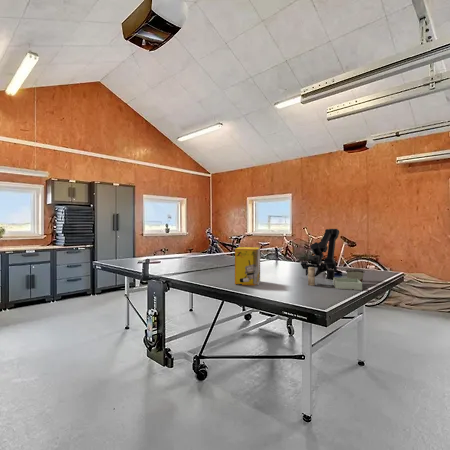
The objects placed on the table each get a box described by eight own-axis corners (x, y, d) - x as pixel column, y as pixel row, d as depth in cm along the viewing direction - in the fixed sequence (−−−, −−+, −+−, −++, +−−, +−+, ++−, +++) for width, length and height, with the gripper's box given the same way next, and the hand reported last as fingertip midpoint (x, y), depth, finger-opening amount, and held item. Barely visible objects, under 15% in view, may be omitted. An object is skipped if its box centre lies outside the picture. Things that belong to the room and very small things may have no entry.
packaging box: (258, 285, 204) (258, 249, 204) (234, 284, 208) (234, 248, 208) (260, 281, 220) (260, 247, 220) (238, 280, 223) (238, 247, 223)
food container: (363, 282, 215) (363, 269, 215) (364, 284, 209) (364, 270, 209) (344, 281, 218) (344, 268, 218) (345, 283, 212) (345, 269, 212)
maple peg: (308, 284, 209) (308, 267, 209) (314, 284, 208) (314, 267, 208) (308, 285, 205) (308, 268, 205) (314, 285, 204) (314, 268, 204)
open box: (333, 283, 211) (333, 277, 211) (357, 285, 206) (357, 278, 206) (335, 288, 195) (335, 281, 195) (362, 290, 191) (362, 283, 191)
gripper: (301, 250, 216) (294, 267, 207) (326, 251, 203) (320, 269, 195) (306, 260, 222) (299, 277, 213) (331, 262, 209) (325, 280, 201)
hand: (310, 275), depth 206 cm, fingers open, 6 cm apart
